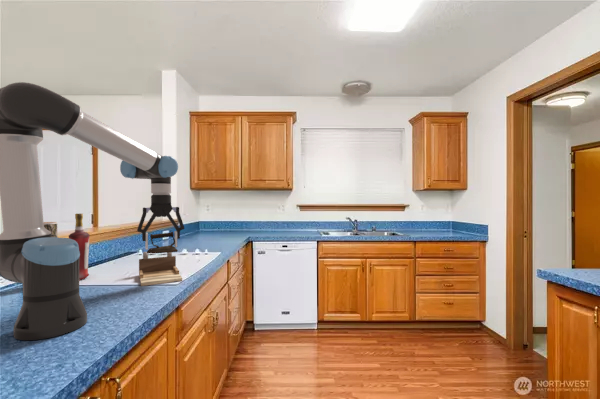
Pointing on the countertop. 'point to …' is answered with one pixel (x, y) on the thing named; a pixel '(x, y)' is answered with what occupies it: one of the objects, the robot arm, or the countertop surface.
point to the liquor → (81, 246)
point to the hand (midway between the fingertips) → (161, 247)
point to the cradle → (158, 270)
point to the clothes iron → (163, 248)
